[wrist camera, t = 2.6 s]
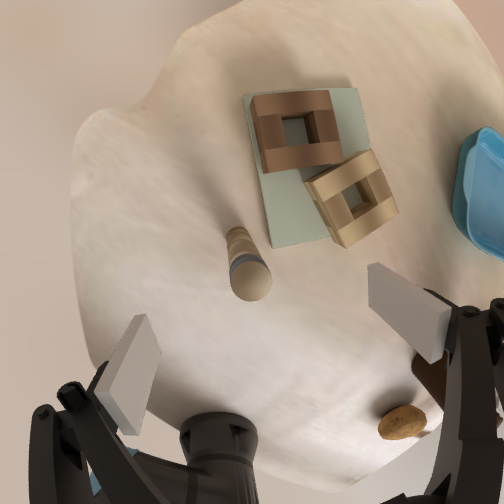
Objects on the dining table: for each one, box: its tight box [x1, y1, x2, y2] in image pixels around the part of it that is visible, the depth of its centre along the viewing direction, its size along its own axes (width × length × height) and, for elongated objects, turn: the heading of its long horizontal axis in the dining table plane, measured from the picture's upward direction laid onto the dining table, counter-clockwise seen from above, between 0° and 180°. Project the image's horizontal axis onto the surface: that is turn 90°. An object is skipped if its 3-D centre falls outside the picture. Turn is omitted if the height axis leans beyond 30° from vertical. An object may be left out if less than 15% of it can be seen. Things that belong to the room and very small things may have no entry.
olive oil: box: [412, 348, 503, 428], centre depth 34 cm, size 11×11×25 cm
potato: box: [378, 405, 427, 440], centre depth 46 cm, size 10×14×8 cm
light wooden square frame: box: [303, 149, 399, 249], centre depth 32 cm, size 9×9×4 cm
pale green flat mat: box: [243, 88, 371, 249], centre depth 33 cm, size 16×20×1 cm
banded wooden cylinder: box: [227, 227, 272, 301], centre depth 28 cm, size 3×3×16 cm
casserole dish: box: [452, 127, 504, 261], centre depth 36 cm, size 37×22×7 cm, turn 77°
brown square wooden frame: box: [250, 90, 344, 174], centre depth 30 cm, size 9×9×4 cm
